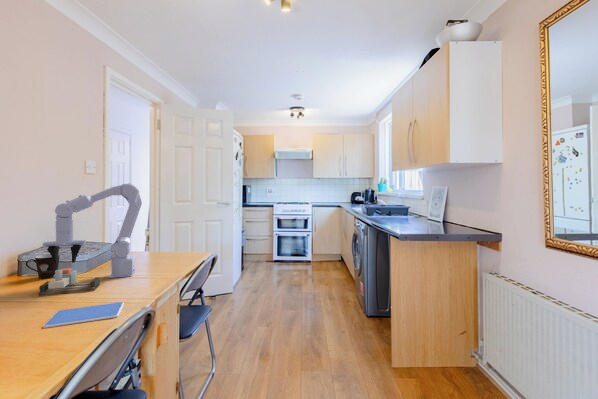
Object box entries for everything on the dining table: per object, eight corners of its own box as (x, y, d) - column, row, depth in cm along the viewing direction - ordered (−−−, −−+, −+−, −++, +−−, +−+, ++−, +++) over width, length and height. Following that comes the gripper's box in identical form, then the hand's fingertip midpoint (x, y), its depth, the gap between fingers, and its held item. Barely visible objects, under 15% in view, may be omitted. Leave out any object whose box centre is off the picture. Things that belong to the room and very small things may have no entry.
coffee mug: (65, 274, 135) (64, 254, 134) (47, 280, 126) (46, 258, 126) (43, 273, 136) (42, 253, 136) (24, 279, 127) (23, 257, 127)
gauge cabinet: (76, 281, 125) (76, 270, 125) (71, 285, 120) (71, 274, 120) (60, 282, 123) (59, 271, 123) (53, 287, 118) (53, 275, 118)
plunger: (71, 277, 124) (71, 267, 124) (68, 280, 120) (68, 270, 120) (62, 278, 122) (62, 268, 122) (58, 280, 119) (58, 270, 119)
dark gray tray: (100, 284, 122) (100, 276, 122) (94, 290, 114) (94, 282, 114) (48, 289, 115) (48, 280, 115) (38, 296, 108) (38, 287, 108)
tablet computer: (41, 330, 83) (41, 326, 83) (58, 313, 95) (57, 309, 95) (117, 319, 91) (117, 315, 91) (124, 304, 103) (124, 301, 102)
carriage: (69, 283, 117) (68, 268, 116) (63, 287, 112) (63, 271, 112) (54, 284, 115) (53, 269, 115) (48, 289, 110) (47, 272, 110)
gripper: (38, 233, 114) (39, 266, 115) (81, 231, 120) (82, 263, 120) (46, 231, 121) (47, 262, 122) (87, 229, 126) (87, 259, 127)
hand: (65, 262), depth 121 cm, fingers open, 5 cm apart
